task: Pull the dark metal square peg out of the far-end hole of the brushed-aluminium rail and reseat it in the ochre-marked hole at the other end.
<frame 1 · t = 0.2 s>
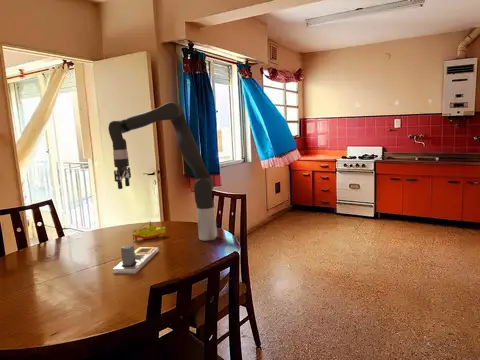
hand: (124, 187, 190), 29 cm above the table, tool pointing down, fingers open, 8 cm apart
toy boat: (149, 238, 193), on the table
peg: (129, 268, 152), resting in rail
rail: (137, 261, 159), on the table
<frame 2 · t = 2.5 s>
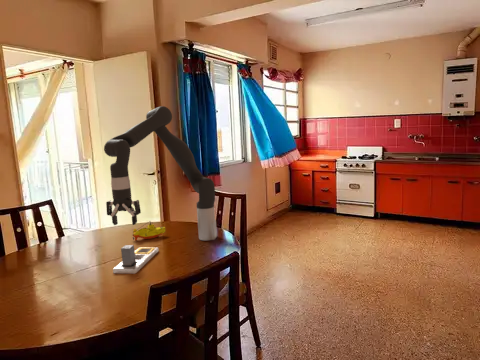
hand: (124, 224, 149), 20 cm above the table, tool pointing down, fingers open, 8 cm apart
nothing on the table moved.
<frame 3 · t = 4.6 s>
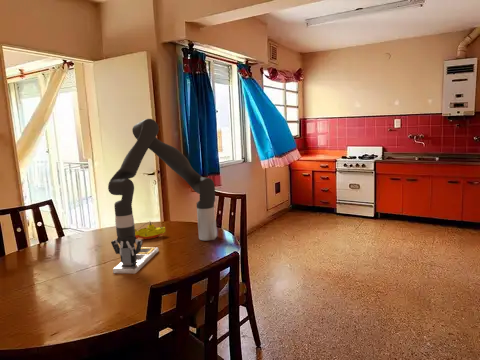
hand: (129, 262, 151), 3 cm above the table, tool pointing down, fingers closed on peg, 4 cm apart
peg: (129, 268, 152), resting in rail, touching gripper
everything else where it was.
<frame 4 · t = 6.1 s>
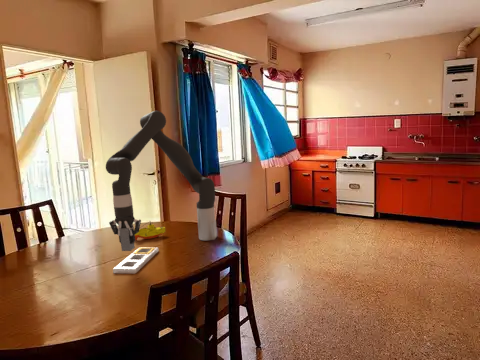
hand: (127, 243, 150), 12 cm above the table, tool pointing down, fingers closed on peg, 4 cm apart
peg: (128, 249, 150), point 9 cm above the table, touching gripper
everything else where it was.
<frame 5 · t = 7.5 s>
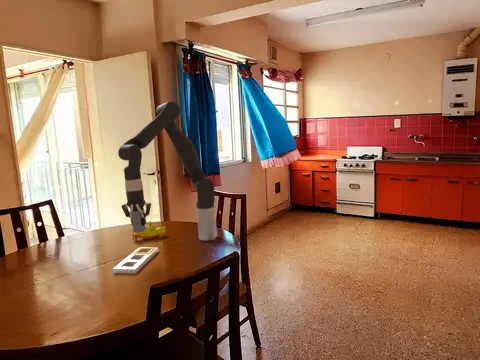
hand: (138, 225, 159), 16 cm above the table, tool pointing down, fingers closed on peg, 4 cm apart
peg: (139, 231, 160), point 14 cm above the table, touching gripper
everything else where it was.
when the fingers open (4 cm above the table, at t = 10.5 s): peg stays where it is, resting in rail.
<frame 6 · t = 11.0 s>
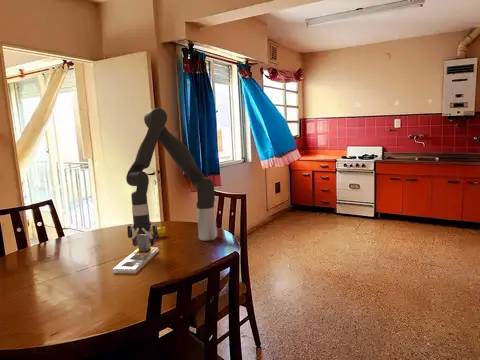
hand: (143, 245, 167), 5 cm above the table, tool pointing down, fingers open, 8 cm apart
peg: (144, 255, 167), resting in rail
everything else where it was.
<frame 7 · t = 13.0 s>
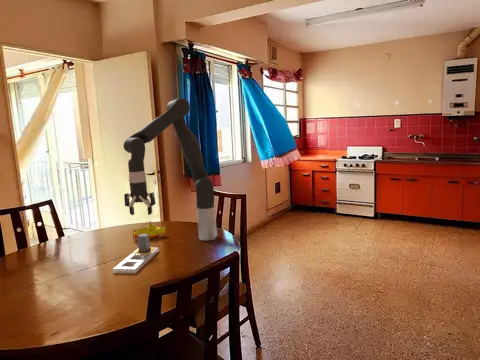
hand: (141, 214, 164), 20 cm above the table, tool pointing down, fingers open, 8 cm apart
nothing on the table moved.
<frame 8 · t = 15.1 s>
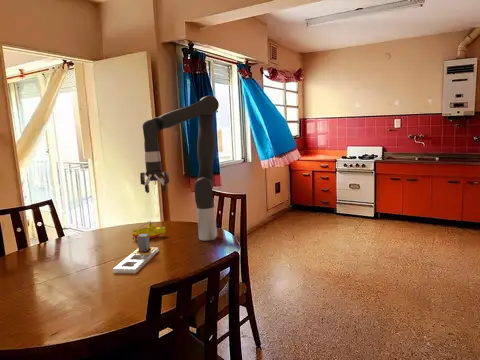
hand: (155, 192, 175), 28 cm above the table, tool pointing down, fingers open, 8 cm apart
nothing on the table moved.
at the end: peg 0.1 cm from the target spot on the rail, point 0.0 cm above the rail's base; peg tilted 0°; the gripper is holding nothing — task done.
